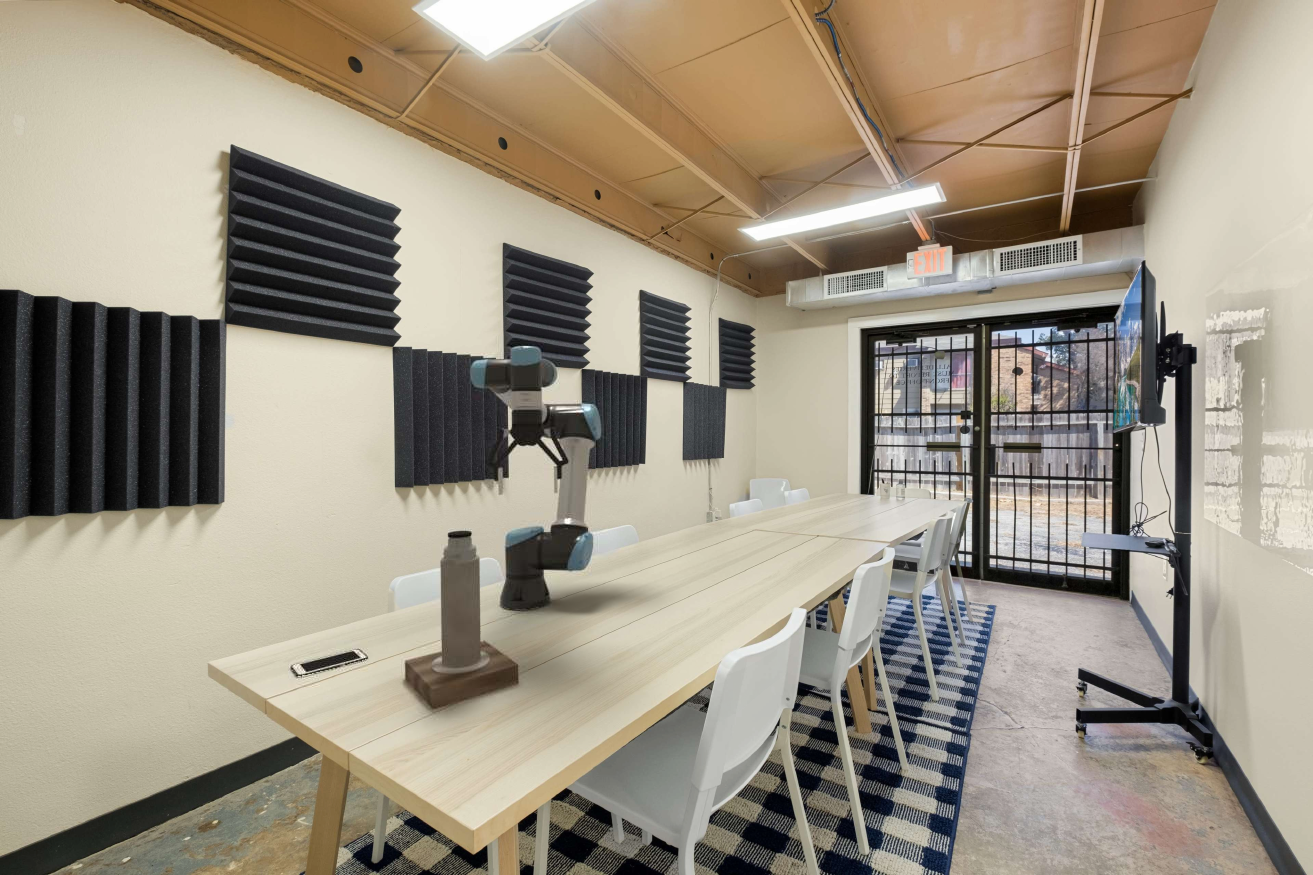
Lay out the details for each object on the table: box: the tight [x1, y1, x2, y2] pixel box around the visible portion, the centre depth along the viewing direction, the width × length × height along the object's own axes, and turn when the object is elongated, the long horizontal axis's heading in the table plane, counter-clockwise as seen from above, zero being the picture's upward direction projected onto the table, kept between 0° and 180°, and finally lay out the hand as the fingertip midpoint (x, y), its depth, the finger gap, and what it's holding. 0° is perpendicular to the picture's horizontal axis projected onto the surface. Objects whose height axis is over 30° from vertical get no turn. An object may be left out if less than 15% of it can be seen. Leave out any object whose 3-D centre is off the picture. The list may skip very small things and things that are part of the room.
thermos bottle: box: [439, 530, 482, 668], centre depth 125 cm, size 8×8×28 cm
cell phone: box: [290, 648, 369, 676], centre depth 135 cm, size 8×15×1 cm, turn 134°
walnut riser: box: [404, 640, 519, 710], centre depth 125 cm, size 18×18×4 cm
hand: (528, 493), depth 146 cm, fingers open, 13 cm apart
